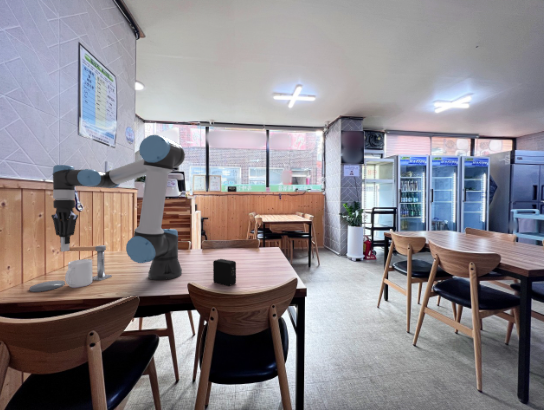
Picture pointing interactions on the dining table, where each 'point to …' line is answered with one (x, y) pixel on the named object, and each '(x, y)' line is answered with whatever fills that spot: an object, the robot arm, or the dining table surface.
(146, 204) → the robot arm
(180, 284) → the dining table surface
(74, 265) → the mug
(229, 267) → the electronic device
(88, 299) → the dining table surface
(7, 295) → the dining table surface
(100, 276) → the post
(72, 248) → the orange-brown wooden bar
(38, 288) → the disc
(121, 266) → the dining table surface
